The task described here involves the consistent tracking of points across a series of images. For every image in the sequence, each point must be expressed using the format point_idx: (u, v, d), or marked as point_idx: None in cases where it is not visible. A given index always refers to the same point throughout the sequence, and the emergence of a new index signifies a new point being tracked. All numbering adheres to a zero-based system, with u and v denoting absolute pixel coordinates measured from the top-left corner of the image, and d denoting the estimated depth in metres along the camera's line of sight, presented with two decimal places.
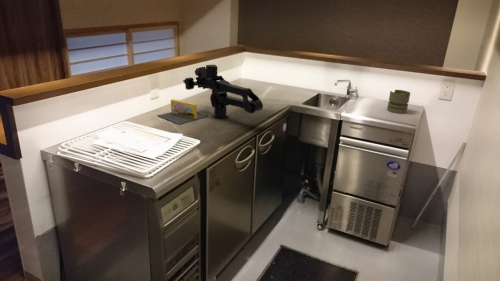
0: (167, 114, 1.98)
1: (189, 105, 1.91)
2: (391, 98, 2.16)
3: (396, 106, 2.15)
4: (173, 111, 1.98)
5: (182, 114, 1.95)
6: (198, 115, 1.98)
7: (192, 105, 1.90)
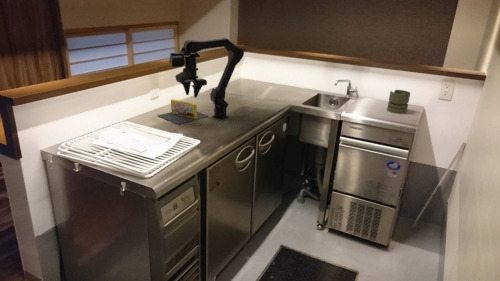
0: (167, 114, 1.98)
1: (189, 105, 1.91)
2: (391, 98, 2.16)
3: (396, 106, 2.15)
4: (173, 111, 1.98)
5: (182, 114, 1.95)
6: (198, 115, 1.98)
7: (192, 105, 1.90)
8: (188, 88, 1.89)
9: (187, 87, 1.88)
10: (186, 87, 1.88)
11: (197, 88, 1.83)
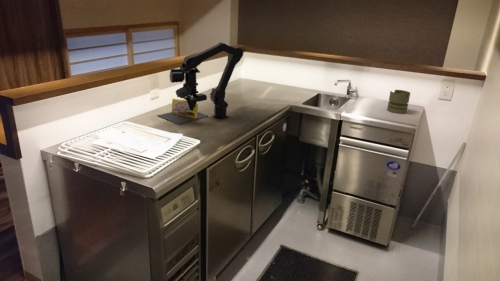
0: (167, 114, 1.98)
1: None
2: (391, 98, 2.16)
3: (396, 106, 2.15)
4: (173, 110, 1.98)
5: (182, 113, 1.96)
6: (198, 115, 1.98)
7: None
8: None
9: None
10: None
11: (193, 101, 1.88)
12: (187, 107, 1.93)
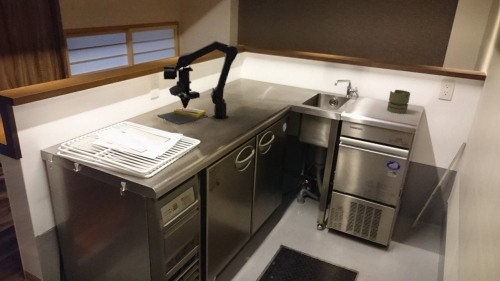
0: (167, 114, 1.98)
1: (199, 110, 2.00)
2: (391, 98, 2.16)
3: (396, 106, 2.15)
4: (177, 109, 2.01)
5: (185, 111, 1.98)
6: None
7: (203, 110, 2.00)
8: None
9: None
10: None
11: (186, 99, 1.91)
12: (194, 110, 2.00)
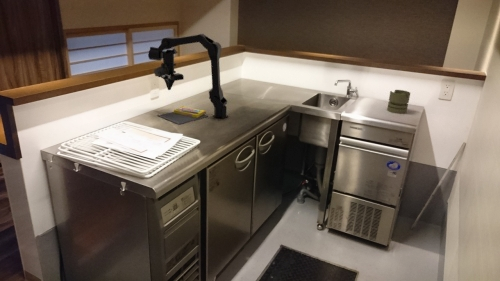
0: (167, 114, 1.98)
1: (199, 110, 2.00)
2: (391, 98, 2.16)
3: (396, 106, 2.15)
4: (177, 109, 2.01)
5: (185, 111, 1.98)
6: None
7: (203, 110, 2.00)
8: None
9: None
10: None
11: (171, 81, 1.96)
12: (194, 110, 2.00)
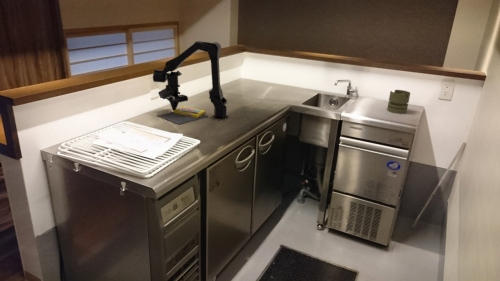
0: (167, 114, 1.98)
1: (199, 110, 2.00)
2: (391, 98, 2.16)
3: (396, 106, 2.15)
4: (177, 109, 2.01)
5: (186, 111, 1.98)
6: None
7: (203, 110, 2.00)
8: None
9: None
10: None
11: (175, 102, 1.99)
12: (194, 110, 2.00)
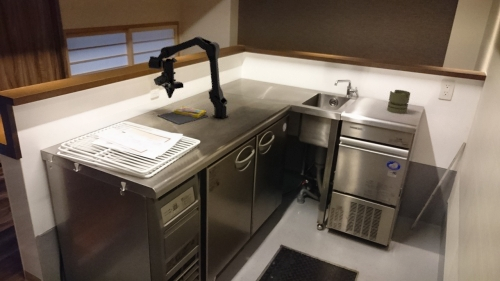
0: (167, 114, 1.98)
1: (200, 110, 2.00)
2: (391, 98, 2.16)
3: (396, 106, 2.15)
4: (178, 109, 2.00)
5: (186, 111, 1.97)
6: None
7: (203, 110, 2.00)
8: None
9: None
10: None
11: (171, 89, 1.99)
12: (195, 110, 2.00)
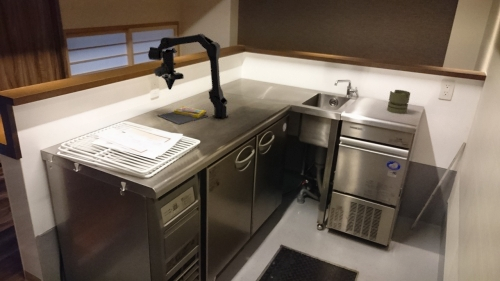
0: (167, 114, 1.98)
1: (200, 110, 2.00)
2: (391, 98, 2.16)
3: (396, 106, 2.15)
4: (178, 109, 2.00)
5: (186, 111, 1.97)
6: None
7: (203, 110, 2.00)
8: None
9: None
10: None
11: (171, 80, 1.97)
12: (195, 110, 2.00)
